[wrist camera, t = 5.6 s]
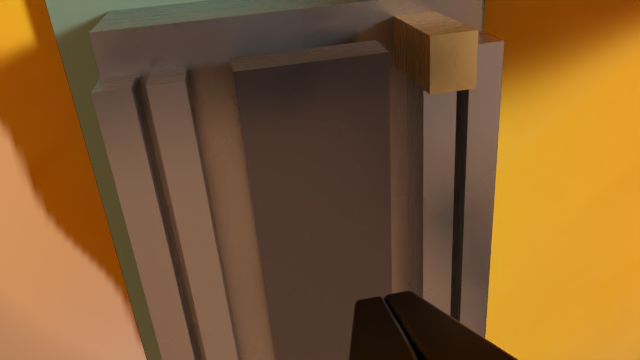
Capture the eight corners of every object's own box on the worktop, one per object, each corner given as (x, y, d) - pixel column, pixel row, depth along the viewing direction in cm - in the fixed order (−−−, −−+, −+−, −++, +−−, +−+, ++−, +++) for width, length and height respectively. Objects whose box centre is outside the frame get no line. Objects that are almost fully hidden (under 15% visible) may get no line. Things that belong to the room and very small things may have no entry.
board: (459, 388, 24) (465, 399, 24) (176, 448, 23) (175, 461, 22) (480, -108, 16) (490, -108, 15) (32, -68, 14) (26, -67, 14)
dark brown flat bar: (396, 443, 19) (405, 470, 18) (279, 468, 19) (283, 497, 18) (393, 37, 12) (408, 50, 12) (211, 60, 12) (212, 74, 11)
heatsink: (431, 388, 23) (491, 514, 18) (209, 435, 22) (211, 582, 17) (436, -25, 16) (536, 2, 11) (109, 11, 15) (64, 58, 10)
